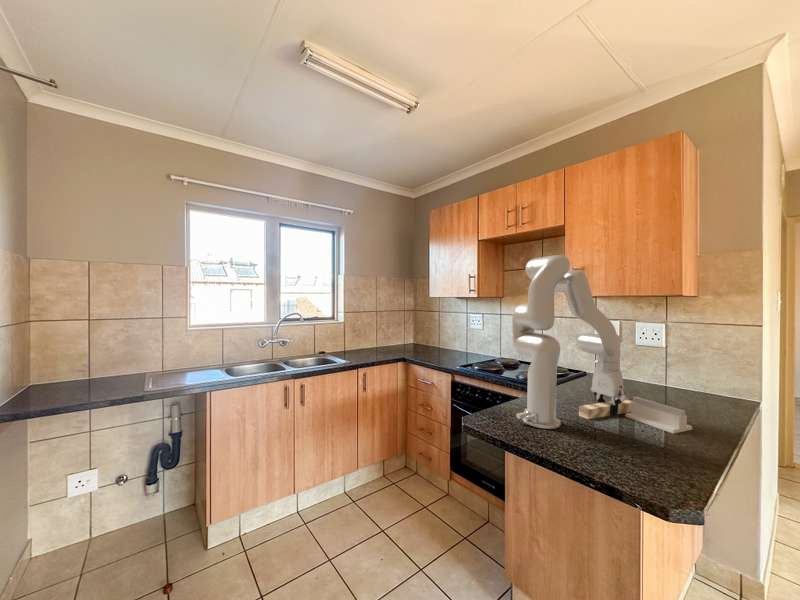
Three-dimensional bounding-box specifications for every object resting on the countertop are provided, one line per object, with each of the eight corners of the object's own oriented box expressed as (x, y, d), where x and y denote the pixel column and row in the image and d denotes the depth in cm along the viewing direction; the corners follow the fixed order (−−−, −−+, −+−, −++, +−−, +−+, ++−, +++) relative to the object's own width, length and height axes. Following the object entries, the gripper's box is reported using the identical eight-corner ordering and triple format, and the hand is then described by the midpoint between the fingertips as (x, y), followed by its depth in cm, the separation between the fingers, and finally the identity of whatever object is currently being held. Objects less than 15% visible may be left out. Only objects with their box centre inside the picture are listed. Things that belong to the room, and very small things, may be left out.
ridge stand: (673, 433, 109) (673, 412, 109) (625, 416, 124) (625, 398, 124) (692, 429, 112) (692, 409, 112) (643, 413, 127) (643, 395, 127)
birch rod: (588, 420, 121) (588, 409, 121) (578, 416, 124) (579, 406, 124) (634, 411, 130) (635, 401, 130) (624, 408, 134) (625, 398, 134)
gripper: (582, 361, 134) (581, 406, 134) (623, 371, 118) (622, 421, 118) (595, 360, 136) (594, 404, 137) (637, 369, 120) (636, 418, 121)
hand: (607, 411), depth 127 cm, fingers open, 4 cm apart
